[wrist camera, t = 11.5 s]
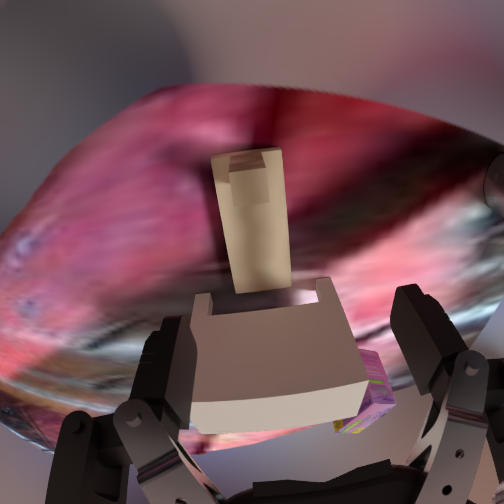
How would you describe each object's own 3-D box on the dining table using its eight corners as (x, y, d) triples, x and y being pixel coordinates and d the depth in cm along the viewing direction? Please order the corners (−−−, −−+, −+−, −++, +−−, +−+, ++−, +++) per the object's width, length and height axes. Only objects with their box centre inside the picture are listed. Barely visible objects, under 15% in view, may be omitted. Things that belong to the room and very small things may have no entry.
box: (354, 347, 46) (373, 404, 36) (377, 351, 47) (398, 404, 37) (322, 380, 51) (334, 433, 41) (345, 383, 52) (359, 433, 42)
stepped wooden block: (278, 146, 29) (291, 165, 22) (289, 277, 38) (299, 320, 31) (212, 154, 29) (203, 176, 23) (236, 284, 38) (235, 328, 32)
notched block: (330, 277, 38) (369, 380, 24) (328, 319, 42) (356, 415, 28) (189, 294, 39) (170, 402, 25) (203, 334, 43) (193, 433, 29)
